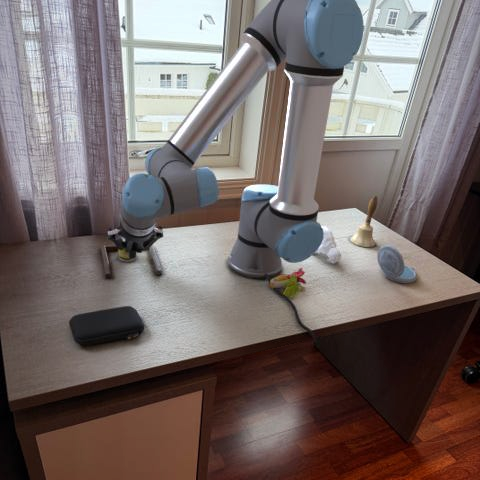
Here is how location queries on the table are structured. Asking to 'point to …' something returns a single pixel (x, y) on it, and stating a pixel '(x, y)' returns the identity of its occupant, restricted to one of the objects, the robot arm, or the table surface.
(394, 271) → the pocket watch
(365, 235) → the hand bell
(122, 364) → the table surface
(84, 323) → the carrying case
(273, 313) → the table surface
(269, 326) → the table surface
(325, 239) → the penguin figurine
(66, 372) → the table surface
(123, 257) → the supplement bottle
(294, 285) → the bird rattle
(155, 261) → the bay
